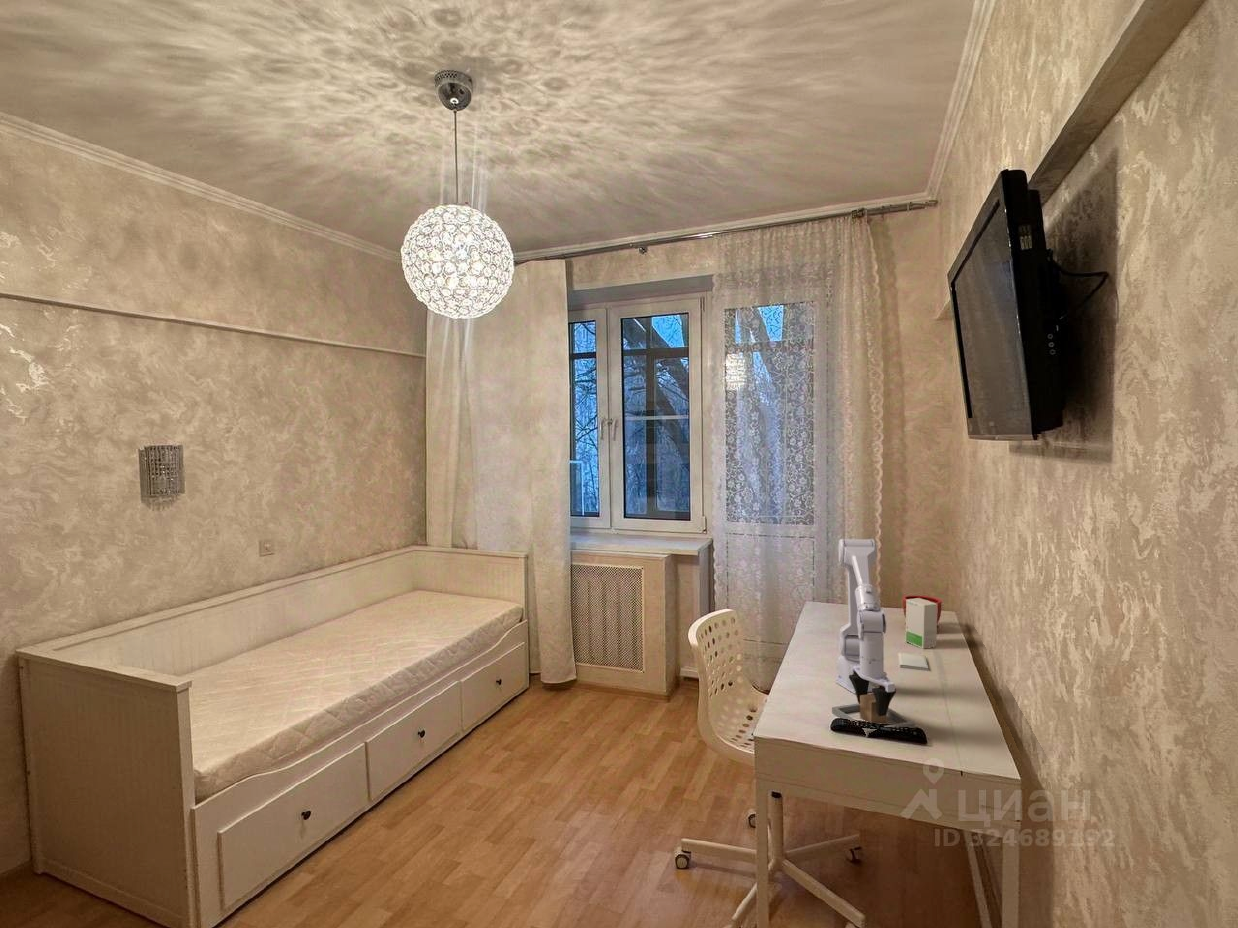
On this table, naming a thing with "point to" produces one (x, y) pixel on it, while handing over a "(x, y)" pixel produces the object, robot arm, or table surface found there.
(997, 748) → the table surface
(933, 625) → the skincare box
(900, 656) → the hard drive
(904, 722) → the tray frame
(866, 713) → the walnut block
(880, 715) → the robot arm
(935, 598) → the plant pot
